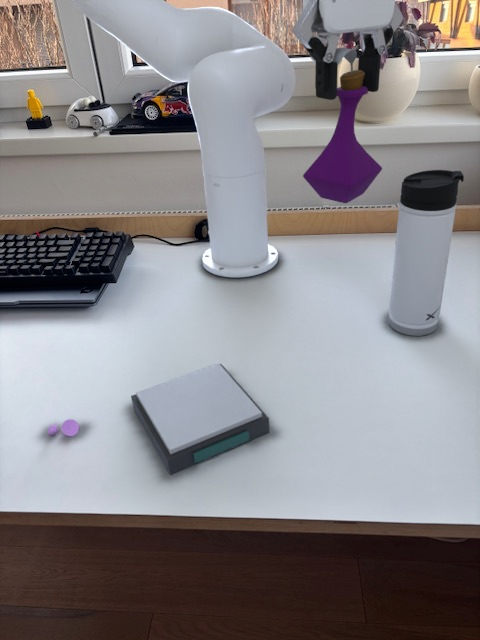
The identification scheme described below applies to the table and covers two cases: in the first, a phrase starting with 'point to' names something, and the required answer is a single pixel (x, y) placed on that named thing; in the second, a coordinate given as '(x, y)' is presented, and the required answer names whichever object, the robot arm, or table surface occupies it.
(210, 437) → the kitchen scale
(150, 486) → the table surface
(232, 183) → the robot arm
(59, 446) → the table surface
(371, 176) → the purple potion bottle
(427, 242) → the travel mug
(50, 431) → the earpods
